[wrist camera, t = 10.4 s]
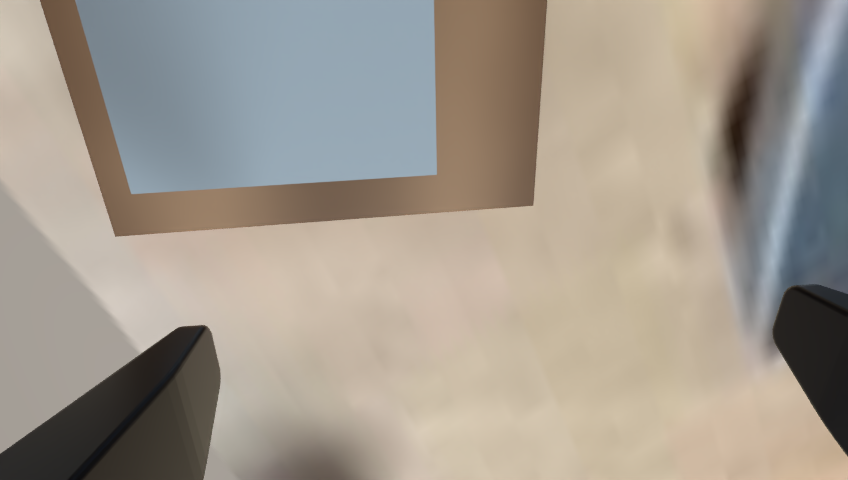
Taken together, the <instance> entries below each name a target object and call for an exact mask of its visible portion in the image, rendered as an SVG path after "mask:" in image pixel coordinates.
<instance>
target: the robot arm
mask: <svg viewBox="0 0 848 480" xmlns="http://www.w3.org/2000/svg"><path fill="white" fill-rule="evenodd" d="M773 339H774V342H775V344H776V346H777V348H778V349H779V351H780V353H781V354H782V356H783V358H784V359H785V361H786V363H787V364H788V366H789V368H790V369H791V371H792V372H793V374H794V376H795V377H796V379H797V381H798V382H799V384H800V386H801V387H802V389H803V391H804V392H805V394H806V396H807V397H808V399H809V400H810V402H811V404H812V405H813V407H814V409H815V410H816V412H817V414H818V415H819V417H820V418H821V420H822V421H823V423H824V424H825V426H826V427H827V429H828V430H829V432H830V433H831V434H832V436H833V437H834V439H835V440H836V441H837V443H838V444H839V445H840V447H841V448H842V449H843V451H844V452H845V454H846V455H847V456H848V294H846V293H843V292H840V291H836V290H833V289H830V288H827V287H824V286H821V285H816V284H809V285H796V286H791V287H789V288H788V289H787V290H786V291H785V292H784V295H783V297H782V301H781V304H780V307H779V310H778V313H777V316H776V319H775V322H774V326H773ZM220 379H221V378H220V367H219V363H218V359H217V354H216V350H215V346H214V341H213V337H212V333H211V331H210V329H209V328H208V327H207V326H205V325H199V326H183V327H179V328H177V329H175V330H174V331H172V332H171V333H170V334H168V335H167V336H165V337H164V338H163V339H161V340H160V341H158V342H157V343H155V344H154V345H153V346H151V347H150V348H148V349H147V350H146V351H144V352H143V353H141V354H140V355H139V356H137V357H136V358H134V359H133V360H132V361H130V362H129V363H127V364H126V365H125V366H123V367H122V368H120V369H119V370H118V371H116V372H115V373H113V374H112V375H111V376H109V377H108V378H106V379H105V380H103V381H102V382H101V383H99V384H98V385H96V386H95V387H94V388H92V389H91V390H89V391H88V392H87V393H85V394H84V395H83V396H81V397H80V398H78V399H77V400H75V401H74V402H73V403H71V404H70V405H69V406H67V407H65V408H64V409H63V410H61V411H60V412H58V413H57V414H56V415H54V416H53V417H51V418H50V419H49V420H47V421H46V422H44V423H43V424H42V425H40V426H39V427H37V428H36V429H35V430H33V431H32V432H30V433H29V434H27V435H26V436H25V437H23V438H22V439H20V440H19V441H18V442H16V443H15V444H14V445H12V446H11V447H9V448H8V449H7V450H5V451H4V452H2V453H1V454H0V480H203V478H204V474H205V468H206V464H207V458H208V452H209V446H210V441H211V435H212V429H213V423H214V417H215V412H216V406H217V400H218V394H219V389H220Z"/></svg>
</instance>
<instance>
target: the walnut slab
mask: <svg viewBox="0 0 848 480" xmlns="http://www.w3.org/2000/svg"><path fill="white" fill-rule="evenodd" d="M40 2H41V5H42V8H43V11H44V14H45V17H46V20H47V24H48V27H49V30H50V33H51V36H52V39H53V42H54V46H55V49H56V52H57V55H58V58H59V61H60V64H61V68H62V71H63V74H64V77H65V80H66V83H67V86H68V89H69V93H70V96H71V99H72V102H73V105H74V108H75V111H76V115H77V118H78V121H79V124H80V127H81V130H82V133H83V136H84V140H85V143H86V146H87V149H88V152H89V155H90V158H91V162H92V165H93V168H94V171H95V174H96V177H97V180H98V184H99V187H100V190H101V193H102V196H103V199H104V202H105V205H106V209H107V212H108V215H109V218H110V221H111V224H112V227H113V231H114V234H115V237H116V236H129V235H143V234H156V233H170V232H183V231H197V230H210V229H224V228H237V227H251V226H264V225H278V224H291V223H305V222H318V221H332V220H345V219H359V218H372V217H386V216H399V215H413V214H426V213H439V212H453V211H466V210H480V209H493V208H507V207H520V206H533V201H534V187H535V172H536V157H537V142H538V127H539V112H540V98H541V83H542V68H543V53H544V38H545V23H546V9H547V0H434V33H435V91H436V148H437V175H426V176H410V177H394V178H378V179H363V180H347V181H331V182H315V183H300V184H284V185H268V186H252V187H237V188H221V189H205V190H189V191H174V192H158V193H142V194H131V191H130V188H129V184H128V181H127V178H126V174H125V171H124V167H123V164H122V160H121V157H120V153H119V150H118V147H117V143H116V140H115V136H114V133H113V129H112V126H111V122H110V119H109V116H108V112H107V109H106V105H105V102H104V98H103V95H102V91H101V88H100V84H99V81H98V78H97V74H96V71H95V67H94V64H93V60H92V57H91V53H90V50H89V47H88V43H87V40H86V36H85V33H84V29H83V26H82V22H81V19H80V16H79V12H78V9H77V5H76V2H75V0H40Z"/></svg>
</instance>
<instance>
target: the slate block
mask: <svg viewBox="0 0 848 480" xmlns="http://www.w3.org/2000/svg"><path fill="white" fill-rule="evenodd" d="M75 2H76V5H77V9H78V12H79V16H80V19H81V22H82V26H83V29H84V33H85V36H86V40H87V43H88V47H89V50H90V53H91V57H92V60H93V64H94V67H95V71H96V74H97V78H98V81H99V84H100V88H101V91H102V95H103V98H104V102H105V105H106V109H107V112H108V116H109V119H110V122H111V126H112V129H113V133H114V136H115V140H116V143H117V147H118V150H119V153H120V157H121V160H122V164H123V167H124V171H125V174H126V178H127V181H128V184H129V188H130V191H131V194H142V193H158V192H174V191H189V190H205V189H221V188H237V187H252V186H268V185H284V184H300V183H315V182H331V181H347V180H363V179H378V178H394V177H410V176H426V175H437V148H436V91H435V33H434V0H75Z"/></svg>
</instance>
